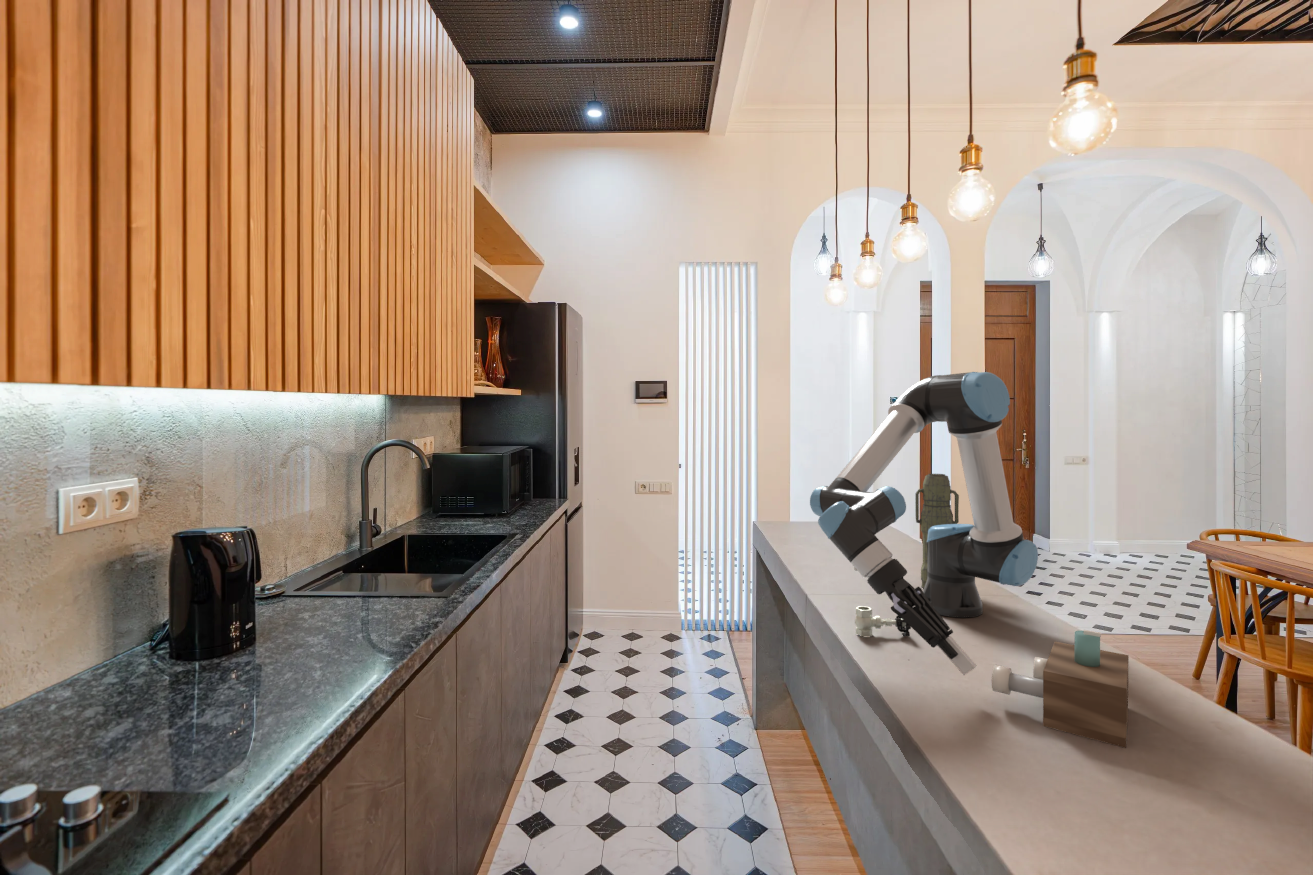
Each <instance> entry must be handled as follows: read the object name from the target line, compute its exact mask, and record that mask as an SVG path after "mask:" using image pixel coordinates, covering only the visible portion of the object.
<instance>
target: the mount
mask: <svg viewBox="0 0 1313 875" xmlns="http://www.w3.org/2000/svg"><path fill="white" fill-rule="evenodd" d="M1074 650H1075V644H1070V643H1065V642H1060V641H1054V642H1053V644H1052V648H1051V650H1050V653H1049V655H1048V657H1047V659H1048V660H1047V662H1046V665H1045V668H1044V670H1043V698H1042V703H1043V704H1042V705H1043V707H1042V713H1043V714H1042V723H1043V724H1042V726H1043V727H1046V728H1048V729H1049V728H1050V729H1053V730H1057V731H1061V732H1064V733H1069V734H1071V735H1076V736H1079V737H1083V738H1087V739H1091V740H1095V741H1098V742H1102V743H1106V744H1108V745H1109V744H1110V745H1112V746H1113V745H1114V746H1117V747H1121V748H1124V749H1126V748H1127V738H1128V737H1127V736H1128V721H1129V718H1128V717H1129V654H1126V653H1125V654H1123V653H1118V652H1113V651H1108V650H1102V649H1100V666H1099V667H1088V666H1084V665H1080V664H1078V663H1076V662H1075V661H1074Z"/></svg>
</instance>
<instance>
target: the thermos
mask: <svg viewBox="0 0 1313 875" xmlns="http://www.w3.org/2000/svg"><path fill="white" fill-rule="evenodd" d="M950 483H951V481H950V479H949V476H948V475H946V474H944V473H928V474H926V475H925V476H924V479H923V482H922V488H918V489H917V491H916V492H915V495H914V496H915V505H914V506H915V523H917V524H919V525H920V531H921V533H922V564H921V566H920V567H921V568H920V581H921V589H922V588H923V589H922V590H924V587H925V585H926V582H927V578H928V565H927V538H928V530H929V528H930V527H932V526H936V525H944V524H959V504H960V503H959V502H960V500H959V499H960V495H959V494H958V493H957V492H956V490H953V489H951V484H950ZM920 493H922V500H923V504H922V509H921V512H920V508H919V503H920V501H919V499H920V498H919V496H920V495H919V494H920ZM951 494H953V495H954V514H953V512H952V509H951V508H952V505H951V500H952V499H951V498H952V497H951V496H952V495H951ZM919 514H920V515H919ZM919 516H920V517H919Z"/></svg>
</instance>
